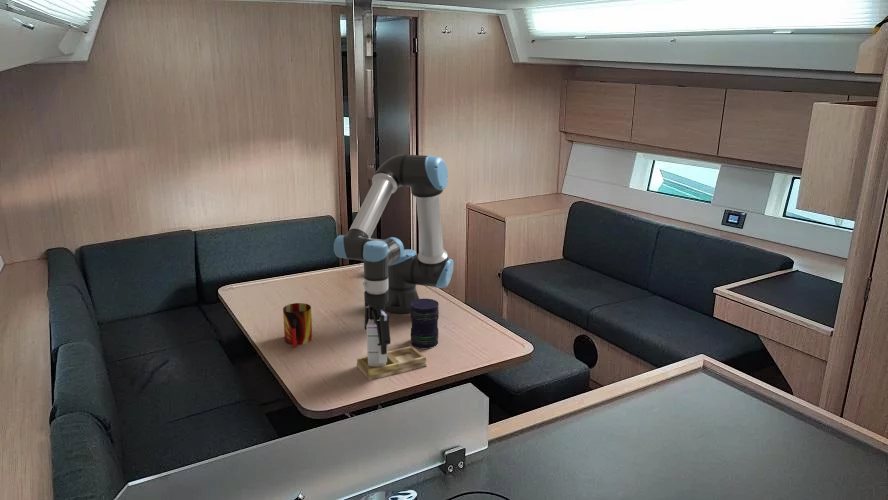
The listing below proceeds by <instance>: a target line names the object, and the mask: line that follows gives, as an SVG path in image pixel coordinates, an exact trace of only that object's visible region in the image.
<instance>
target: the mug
mask: <svg viewBox="0 0 888 500" xmlns="http://www.w3.org/2000/svg"><path fill="white" fill-rule="evenodd" d="M282 312H283V313H282V316H283V330H284V331H283V332H284V341H285V343H286V344H288V345H292V348H293V349H297V346H302V345H306V344H309V343H310V342H311V341H312V340H313V324H312V323H313V321H312V306H311V305H310V304H309V303H304V302H294V303H290V304H289V303H288V304H287V305H284V306H283V307H282Z"/></svg>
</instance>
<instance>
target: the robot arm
mask: <svg viewBox="0 0 888 500" xmlns="http://www.w3.org/2000/svg"><path fill="white" fill-rule="evenodd" d="M448 176H449V175H448V168H447V164H446V162H445V161H444V159H442V157H440V156H433V155H420V154H405V153H402V154H401V153H400V154H397V155H394V156H392V157H390V158H388V159H387V160H385V161H384V162H383V163H382V164H381V165H380V166H379V167H378V168H377V170H376V171H375V172H374V174H373V176H372V178H371V184H372V185H371V186H370V188H369V190H368V192H367V194H366V196H365V198H364V200H363V202H362V204H361V206H360V208H359V210H358V212H357V214H356V216H355V218H354V220H353V222H352V224H351V226H350V228H349V229H348V230H347V233H346V234H340V235H338V236H337V237H336V238H335V239H334V241H333V252H334V254H335V256H336V257H337V258H339V259H340V258H341V259H345V260H354V261H355V260H356V261H363V283H362V285H363V286H364V287H363V289H364V293H363V294H364V296H363V297H364V298H363V299H364V309H365V310H364V330H366V331H367V327H366V325H367V322H368V320H369V319H370V320H372V319H374V323H375V324H377V332H378V338H379V344H377V345H378V363H379V364H380V363H385V362H387V351H388V345H391V332H390V314H389V313H394V314H409V313H411V302H412V301H414V300H417V299H420V297H419V294H418V291H417V287H416V286H425V287H431V288H432V287H433V288H436V289H437V288H442V289H443V288H446V287H448V285H449V284H450V282H451V279H452V276H453V272H454V265H455V264H454V260H453V259H452V258H448V257H449V255H448V252H447V251H446V250H445V249H444V243H443V241H444V240H443V230H442V229H443V228H442V217H441V216H442V215H441V214H442V213H441V203H440V202H441V199H440V196H441V194H442V193H443V191H444V189H446V187H447V184H448ZM401 187H404V188H405V187H406V188H410V193H411V195H412V196H413V197H415V200H416V213H417V221H418V222H417V223H418V235H419V242H420V243H419V245H420V251H419V252H418V253H417V251H416V250H414V249H410V248H409V249H405V246H404V243H403V242H402V241H401V239H399V238H397V237H393V236H391V237H388V238H386V239H380V238H371V237H372V235H373V234H374V230H375V229H376V227H377V225H378V223H379V221H380V218H381V217H382V215H383V212H384V210H385V208H386V206H387V204H388V202H389V201H390V197H391V196H392V194H394V193H396V192H397V190H398V189H399V188H401ZM386 311H387V312H389V313H386ZM377 320H379V321H377Z"/></svg>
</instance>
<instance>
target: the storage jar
mask: <svg viewBox="0 0 888 500" xmlns="http://www.w3.org/2000/svg"><path fill="white" fill-rule="evenodd" d="M439 303H440V302H438V301H437V300H435V299H432V298H419V299H417V300H414V301H412V302H411V312H410V319H411V327H410V340H411V341H410V345H411V344H412V345H413V347H414V348H416V347H418V348H417V349H421V348H428V349H431V348H430V347H433V348H435V347H437V346H438V345H439V325H438V322H439V321H438V320H439V316H440V315H439V314H440V313H439ZM437 344H438V345H437ZM412 345H411V346H412ZM436 345H437V346H436ZM434 346H435V347H434Z"/></svg>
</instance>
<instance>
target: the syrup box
mask: <svg viewBox="0 0 888 500" xmlns="http://www.w3.org/2000/svg"><path fill="white" fill-rule="evenodd" d="M377 321H379V320H377ZM366 327H367V330H366V347H367V348H366V351H367V356H368V366H373V367H381V366H385V365H386V362H385V363H380V364H379V363H378V345H377V344H379V338H378V332H377V324H375V323H374V319H372V320H370V319H369V320H368V322H367V325H366Z"/></svg>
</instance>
